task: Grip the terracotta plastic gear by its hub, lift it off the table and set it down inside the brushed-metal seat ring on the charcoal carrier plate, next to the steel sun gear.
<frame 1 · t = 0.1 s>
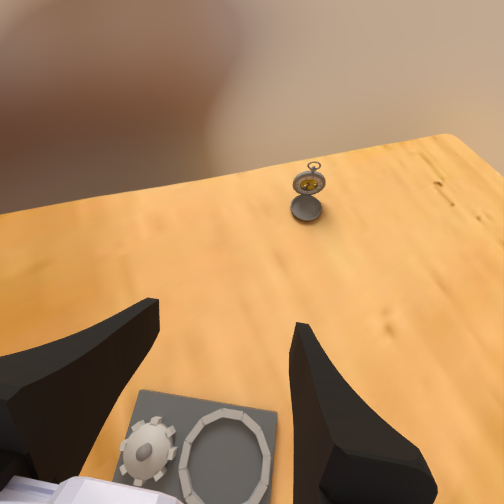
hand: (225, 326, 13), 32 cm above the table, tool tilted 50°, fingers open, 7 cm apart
carrier plate: (199, 452, 36), on the table
pocket watch: (305, 205, 56), on the table
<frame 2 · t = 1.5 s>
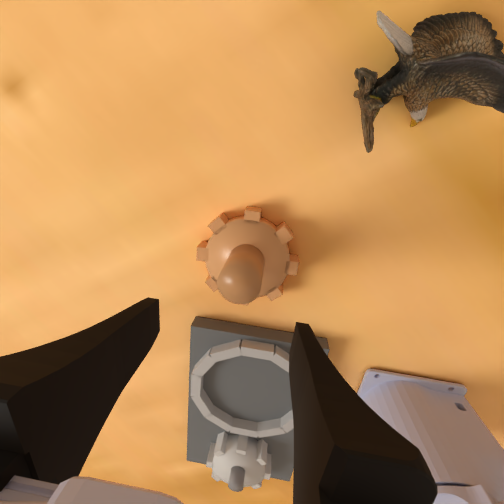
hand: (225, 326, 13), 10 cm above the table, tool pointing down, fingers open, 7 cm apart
carrier plate: (248, 401, 29), on the table
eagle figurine: (416, 89, 17), on the table
planet gear: (248, 254, 22), on the table
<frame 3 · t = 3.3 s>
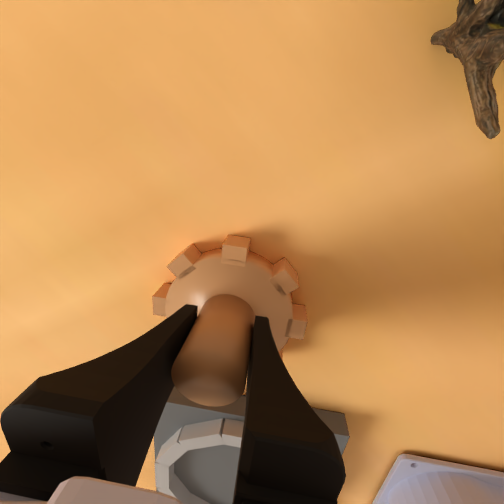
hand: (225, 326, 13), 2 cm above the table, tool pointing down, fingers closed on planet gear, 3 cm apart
carrier plate: (237, 481, 22), on the table
planet gear: (232, 302, 15), on the table, touching gripper
when the fingers open (5 cm above the table, at t = 7.0 s): planet gear stays where it is, resting on carrier plate.
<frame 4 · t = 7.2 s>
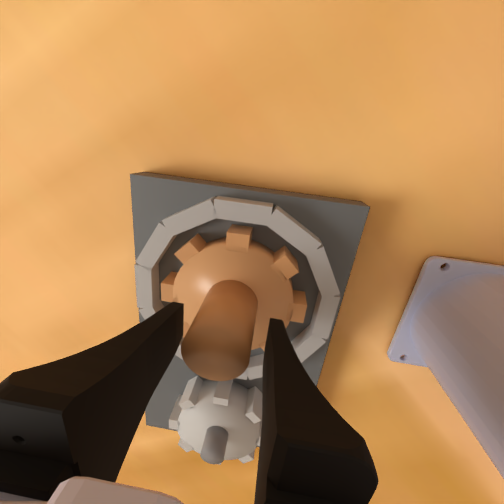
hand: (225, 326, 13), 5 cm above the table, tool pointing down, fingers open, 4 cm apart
carrier plate: (234, 329, 19), on the table
planet gear: (236, 289, 16), point 1 cm above the table, touching carrier plate
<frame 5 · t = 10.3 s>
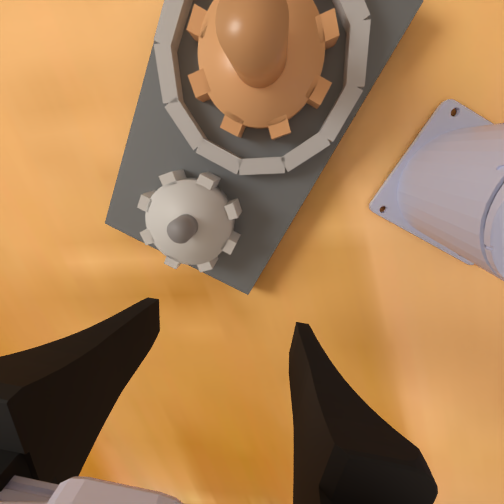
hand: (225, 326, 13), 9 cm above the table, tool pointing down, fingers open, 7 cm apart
carrier plate: (235, 135, 18), on the table
planet gear: (261, 64, 15), point 1 cm above the table, touching carrier plate
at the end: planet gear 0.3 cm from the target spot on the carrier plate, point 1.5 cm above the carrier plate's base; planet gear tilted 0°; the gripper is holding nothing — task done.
